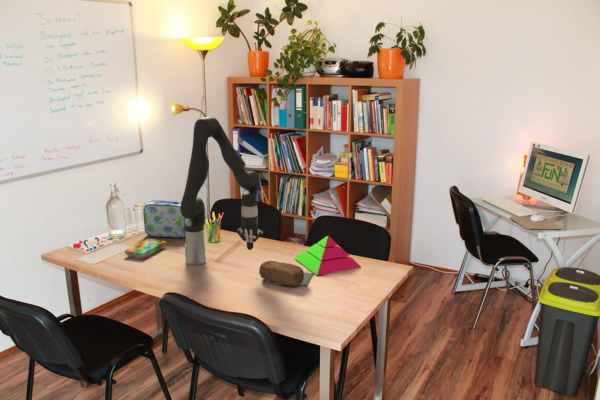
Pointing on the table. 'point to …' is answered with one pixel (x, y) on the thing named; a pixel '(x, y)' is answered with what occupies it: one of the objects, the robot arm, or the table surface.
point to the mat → (305, 281)
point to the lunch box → (164, 219)
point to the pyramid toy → (326, 258)
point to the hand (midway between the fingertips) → (250, 249)
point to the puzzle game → (145, 248)
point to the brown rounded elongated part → (282, 273)
